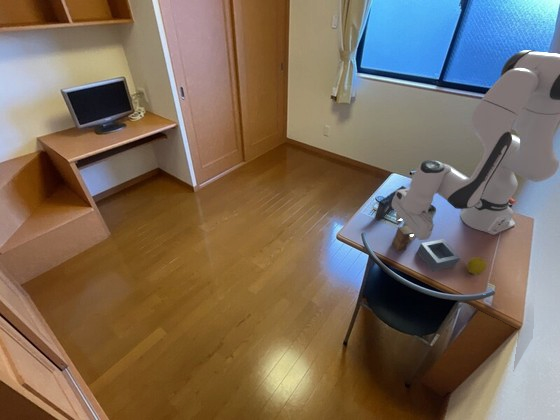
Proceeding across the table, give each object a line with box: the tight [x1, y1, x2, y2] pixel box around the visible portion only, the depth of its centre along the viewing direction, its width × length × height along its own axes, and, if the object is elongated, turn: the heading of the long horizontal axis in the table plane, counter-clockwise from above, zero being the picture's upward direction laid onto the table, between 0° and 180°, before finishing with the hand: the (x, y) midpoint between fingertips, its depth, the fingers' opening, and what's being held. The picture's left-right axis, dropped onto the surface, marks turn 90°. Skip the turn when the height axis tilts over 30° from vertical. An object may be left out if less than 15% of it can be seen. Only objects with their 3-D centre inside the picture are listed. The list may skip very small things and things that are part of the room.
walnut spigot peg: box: [391, 225, 413, 252], centre depth 114 cm, size 4×4×10 cm
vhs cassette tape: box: [374, 185, 407, 221], centre depth 131 cm, size 18×3×10 cm, turn 129°
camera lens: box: [427, 204, 437, 220], centre depth 127 cm, size 6×6×8 cm
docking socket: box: [416, 238, 461, 272], centre depth 111 cm, size 10×10×5 cm
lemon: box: [466, 256, 487, 275], centre depth 105 cm, size 6×6×8 cm
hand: (404, 230), depth 111 cm, fingers open, 8 cm apart
